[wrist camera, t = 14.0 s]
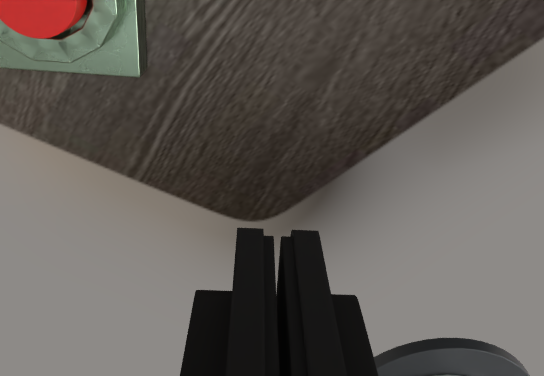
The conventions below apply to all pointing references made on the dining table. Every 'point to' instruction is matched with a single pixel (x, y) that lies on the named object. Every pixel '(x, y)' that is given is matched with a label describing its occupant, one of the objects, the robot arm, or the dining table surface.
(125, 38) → the switch block
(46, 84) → the dining table surface
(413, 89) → the dining table surface
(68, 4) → the button
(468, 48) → the dining table surface
